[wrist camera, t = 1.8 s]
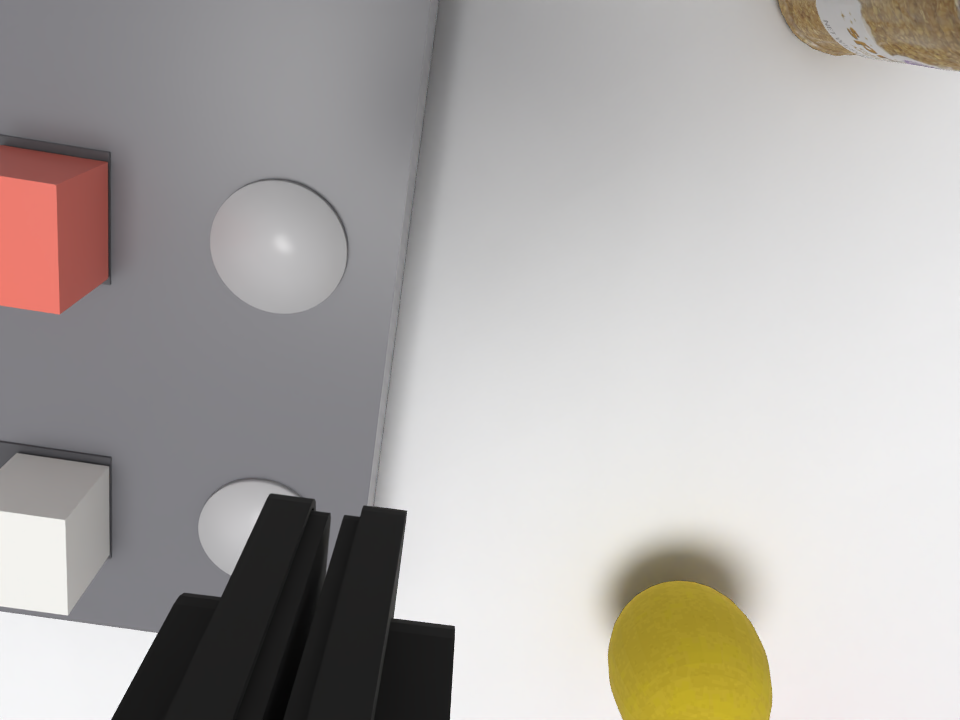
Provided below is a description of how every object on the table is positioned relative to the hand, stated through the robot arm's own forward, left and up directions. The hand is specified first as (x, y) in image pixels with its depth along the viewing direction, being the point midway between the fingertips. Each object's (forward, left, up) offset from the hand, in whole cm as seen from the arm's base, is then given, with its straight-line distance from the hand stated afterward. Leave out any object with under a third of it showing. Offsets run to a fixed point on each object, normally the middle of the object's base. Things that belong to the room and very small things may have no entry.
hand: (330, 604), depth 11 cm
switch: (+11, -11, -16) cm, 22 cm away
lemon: (+14, +11, -20) cm, 27 cm away
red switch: (+1, -11, -16) cm, 20 cm away
